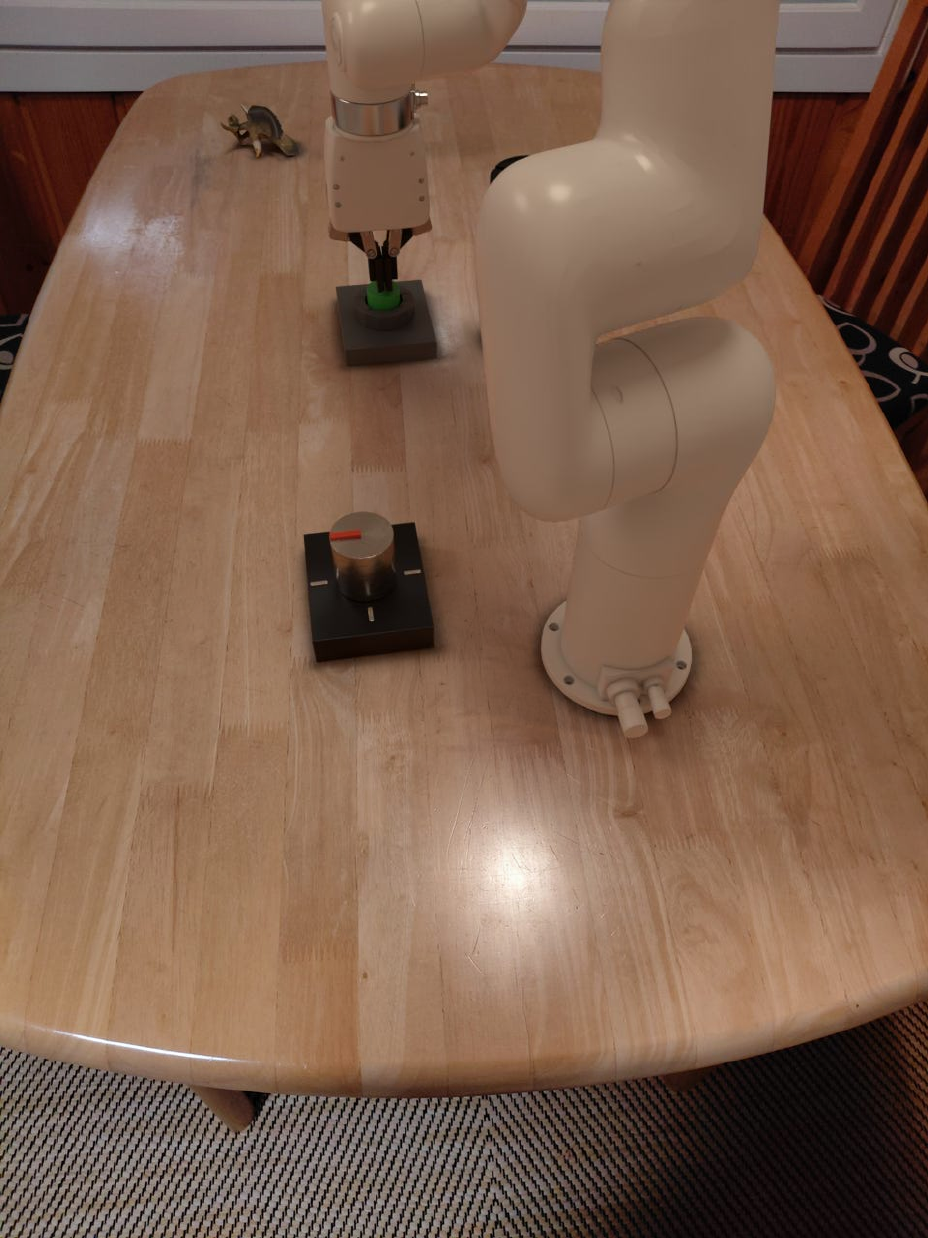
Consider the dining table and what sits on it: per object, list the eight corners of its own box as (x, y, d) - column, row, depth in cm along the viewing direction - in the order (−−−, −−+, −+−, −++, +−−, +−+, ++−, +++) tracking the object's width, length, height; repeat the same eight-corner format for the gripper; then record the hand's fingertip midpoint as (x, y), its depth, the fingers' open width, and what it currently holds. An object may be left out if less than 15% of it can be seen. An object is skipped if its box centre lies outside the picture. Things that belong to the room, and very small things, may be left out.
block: (436, 358, 103) (436, 327, 100) (346, 366, 102) (343, 335, 99) (421, 295, 110) (421, 265, 107) (337, 302, 109) (334, 272, 106)
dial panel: (434, 647, 79) (434, 625, 77) (316, 662, 78) (312, 640, 75) (415, 543, 86) (414, 520, 84) (307, 556, 85) (303, 532, 83)
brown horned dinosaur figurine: (222, 155, 128) (283, 150, 125) (216, 97, 125) (277, 90, 123) (248, 163, 135) (305, 158, 132) (242, 108, 132) (300, 101, 130)
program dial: (392, 552, 81) (389, 505, 77) (400, 597, 78) (397, 552, 74) (333, 559, 81) (326, 512, 76) (338, 605, 78) (331, 559, 73)
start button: (402, 310, 102) (401, 296, 101) (369, 312, 102) (368, 298, 101) (398, 291, 104) (397, 277, 103) (366, 293, 104) (365, 279, 103)
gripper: (445, 85, 90) (446, 260, 104) (289, 95, 88) (312, 272, 103) (457, 120, 85) (457, 298, 100) (293, 131, 84) (317, 311, 98)
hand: (384, 284), depth 101 cm, fingers closed
